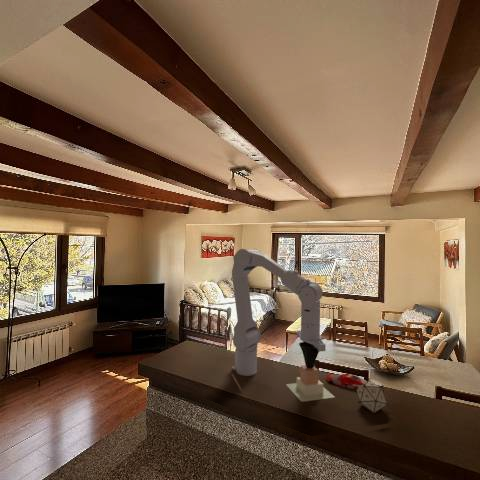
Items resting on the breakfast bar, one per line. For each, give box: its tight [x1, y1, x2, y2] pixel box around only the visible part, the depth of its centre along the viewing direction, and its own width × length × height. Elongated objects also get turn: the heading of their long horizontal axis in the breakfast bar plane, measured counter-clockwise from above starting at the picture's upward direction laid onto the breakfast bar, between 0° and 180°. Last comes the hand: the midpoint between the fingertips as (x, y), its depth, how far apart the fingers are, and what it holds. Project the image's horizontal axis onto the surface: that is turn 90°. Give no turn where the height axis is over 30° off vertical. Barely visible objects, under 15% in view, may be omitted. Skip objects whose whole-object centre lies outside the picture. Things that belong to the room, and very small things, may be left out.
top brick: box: [299, 364, 319, 384], centre depth 93 cm, size 4×4×4 cm
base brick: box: [295, 376, 324, 396], centre depth 93 cm, size 6×6×3 cm
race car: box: [325, 373, 368, 390], centre depth 98 cm, size 13×5×4 cm, turn 57°
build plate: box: [285, 382, 336, 403], centre depth 93 cm, size 11×11×1 cm
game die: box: [353, 376, 391, 414], centre depth 83 cm, size 9×8×10 cm
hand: (309, 366), depth 93 cm, fingers closed
